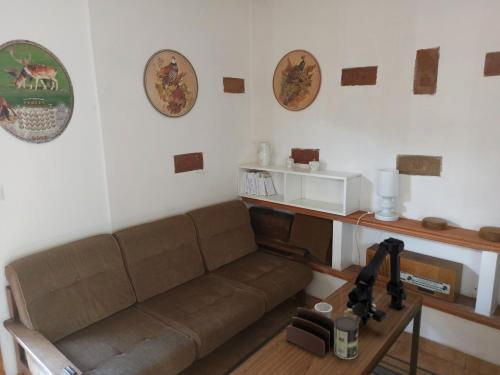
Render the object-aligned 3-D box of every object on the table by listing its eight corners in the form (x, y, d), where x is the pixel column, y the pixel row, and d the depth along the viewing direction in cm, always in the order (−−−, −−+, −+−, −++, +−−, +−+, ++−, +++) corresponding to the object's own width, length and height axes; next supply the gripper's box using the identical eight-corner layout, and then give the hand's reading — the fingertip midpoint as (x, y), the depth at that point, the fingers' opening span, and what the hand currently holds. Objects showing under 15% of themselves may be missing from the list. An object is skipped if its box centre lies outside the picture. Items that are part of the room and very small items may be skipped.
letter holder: (298, 330, 173) (297, 304, 170) (335, 346, 160) (335, 318, 157) (286, 340, 166) (285, 313, 163) (324, 358, 153) (324, 329, 150)
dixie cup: (314, 320, 181) (314, 302, 178) (331, 320, 179) (331, 302, 177) (314, 329, 172) (314, 311, 170) (332, 331, 171) (332, 312, 169)
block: (348, 316, 183) (348, 308, 182) (360, 322, 178) (360, 314, 177) (343, 319, 180) (344, 311, 179) (355, 325, 175) (355, 317, 174)
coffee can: (356, 345, 160) (357, 317, 157) (358, 360, 151) (359, 331, 148) (333, 343, 162) (333, 315, 159) (333, 358, 153) (334, 328, 150)
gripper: (339, 294, 172) (339, 323, 175) (374, 310, 158) (373, 341, 161) (353, 286, 179) (352, 314, 182) (387, 301, 165) (386, 331, 168)
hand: (365, 325), depth 173 cm, fingers closed
